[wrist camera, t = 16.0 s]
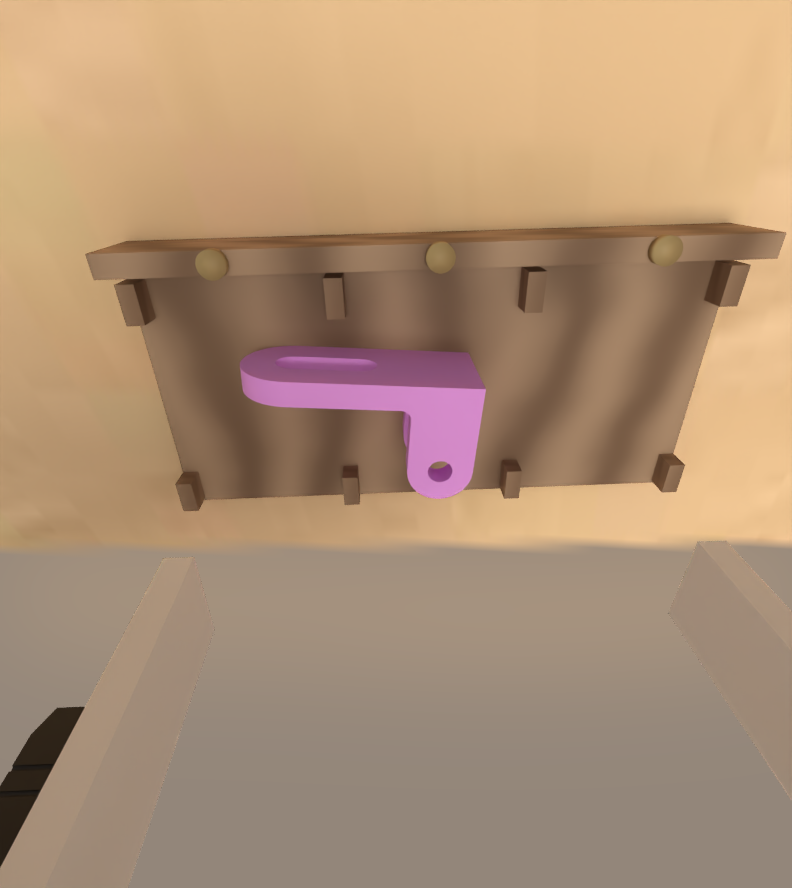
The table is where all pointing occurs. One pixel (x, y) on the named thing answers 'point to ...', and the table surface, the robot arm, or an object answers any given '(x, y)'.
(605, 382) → the ledge
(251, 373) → the bracket
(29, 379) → the table surface
